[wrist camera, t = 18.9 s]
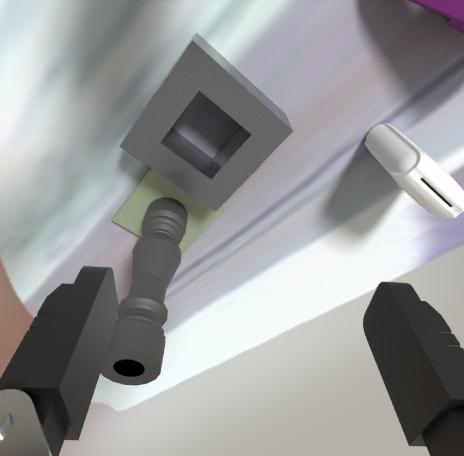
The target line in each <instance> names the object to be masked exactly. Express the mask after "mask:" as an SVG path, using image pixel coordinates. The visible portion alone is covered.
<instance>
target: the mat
mask: <svg viewBox="0 0 464 456" xmlns="http://www.w3.org/2000/svg"><path fill="white" fill-rule="evenodd" d="M163 197H166V198H173V199H175V200H177V201H179V202H181V203H182V204H183V205H184V206H185V208H186V210H187V213H188V220H187V226H186V233H185V235H184V236H183V239H182V241H181V243H180V244H179V247H180V250H181V255H182V254H183V252H184V251H185V250H186V249H187V248H188V247H189V246H190V245H191V244H192V243H193V242H194V241H195V240H196V239H197V238H198V237H199V236H200V235H201V234H202V233H203V232H204V231H205V230H206V229H207V228H208V227H209V226H210V225H211V224H212V223H213V222H214V221H215V220H216V219H217V218H218V217H219V216H220V215H221V214H222V213H223V212H224V209H223V208H221V207H219V209H218V210H217V211H216V212H215V211H214V210H212V209H211V208H209V207H208V206H206V205H205V204H203V203H202V202H201V201H199V200H198V199H196V198H195V197H193V196H192V195H190V194H189V193H187V192H186V191H184V190H183V189H181V188H180V187H179V186H177V185H176V184H174V183H173V182H171V181H170V180H168V179H167V178H165V177H164V176H162V175H161V174H160V173H158V172H157V171H155V170H154V169H152V168H151V169H150V170H149V172H148V173H147V174H146V176H145V177H144V178H143V179H142V181H141V182H140V183H139V185H138V186H137V187H136V189H135V190H134V191H133V192H132V194H131V195H130V196H129V198H128V199H127V200H126V202H125V203H124V204H123V205H122V207H121V208H120V209H119V211H118V212H117V213H116V215H115V216H114V217H113V219H112V221H114V222H115V223H117V224H119V225H120V226H122V227H124V228H126V229H127V230H129V231H131V232H132V233H134V234H136V235H138V236H139V237H141V238H142V237H143V236H142V222H143V219H144V216H145V213H146V210H147V208H148V206H149V204H150V203H151V202H153V201H154V200H155V199H158V198H163Z"/></svg>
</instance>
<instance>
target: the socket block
mask: <svg viewBox="0 0 464 456" xmlns="http://www.w3.org/2000/svg"><path fill="white" fill-rule="evenodd" d="M198 91H200V92H201V93H203V94H204V95H205V96H206V97H207V98H209V99H210V100H211V101H212V102H213V103H215V104H216V105H217V106H218V107H219V108H221V109H222V110H223V111H224V112H225V113H227V114H228V115H229V116H230V117H231V118H232V119H234V120H235V121H236V122H237V123H238V124H240V125H241V127H240V128H239V129H238V130H237V132H236V133H235V134H234V135H233V136H232V137H231V139H230V140H229V141H228V142H227V143H226V144H225V145H224V147H223V148H222V149H221V150H220V151H219V152H218V154H217V155H216V156H215V157H214V158H213V159H212V158H210V157H209V156H208V155H206V154H205V153H204V152H202V151H201V150H200V149H198V148H197V147H196V146H195V145H193V144H192V143H191V142H189V141H188V140H187V139H185V138H184V137H183V136H181V135H180V134H179V133H177V132H176V131H175V130H173V129H172V128H171V127H172V126H173V125H174V123H175V122H176V121H177V119H178V118H179V117H180V115H181V114H182V113H183V111H184V110H185V109H186V107H187V106H188V105H189V103H190V102H191V101H192V99H193V98H194V97H195V95H196V94H197V93H198ZM292 132H293V129H292V127H291V125H290V123H289V121H288V119H287V116H286V114H285V113H284V112H283V111H281V110H280V109H279V108H278V107H277V106H276V105H275V104H274V103H273V102H272V101H271V100H269V99H268V98H267V97H266V96H265V95H264V94H263V93H262V92H261V91H260V90H259V89H257V88H256V87H255V86H254V85H253V84H252V83H251V82H250V81H249V80H248V79H247V78H245V77H244V76H243V75H242V74H241V73H240V72H239V71H238V70H237V69H236V68H235V67H233V66H232V65H231V64H230V63H229V62H228V61H227V60H226V59H225V58H224V57H223V56H221V55H220V54H219V53H218V52H217V51H216V50H215V49H214V48H213V47H212V46H211V45H209V44H208V43H207V42H206V41H205V40H204V39H203V38H202V37H201V36H200V35H199V34H197V33H196V34H195V36H194V37H193V38H192V40H191V41H190V43H189V44H188V46H187V47H186V49H185V50H184V52H183V53H182V55H181V56H180V58H179V59H178V60H177V62H176V63H175V65H174V66H173V68H172V69H171V71H170V72H169V74H168V75H167V77H166V78H165V79H164V81H163V82H162V84H161V85H160V87H159V88H158V90H157V91H156V93H155V94H154V96H153V97H152V99H151V100H150V101H149V103H148V104H147V106H146V107H145V109H144V110H143V112H142V113H141V115H140V116H139V118H138V119H137V120H136V122H135V123H134V125H133V126H132V128H131V129H130V131H129V132H128V134H127V136H126V137H125V139H124V140H123V142H122V143H121V145H120V147H121V148H123V149H124V150H126V151H127V152H129V153H130V154H132V155H133V156H135V157H136V158H138V159H139V160H140V161H142V162H143V163H145V164H146V165H148V166H149V167H151V168H152V169H154V170H155V171H157V172H158V173H160V174H161V175H162V176H164V177H165V178H167V179H168V180H170V181H171V182H173V183H174V184H176V185H177V186H179V187H180V188H181V189H183V190H184V191H186V192H187V193H189V194H190V195H192V196H193V197H195V198H196V199H198V200H199V201H201V202H202V203H203V204H205V205H206V206H208V207H209V208H211V209H212V210H214V211H215V212H216V211H217V210H218V209H219V207H220V206H221V205H222V204H223V203H224V202H225V201H226V200H227V199H228V198H229V197H230V196H231V195H232V194H233V193H234V192H235V191H236V190H237V189H238V188H239V187H240V186H241V185H242V184H243V183H244V182H245V180H246V179H247V178H248V177H249V176H250V175H251V174H252V173H253V172H254V171H255V170H256V169H257V168H258V167H259V166H260V165H261V164H262V163H263V162H264V161H265V160H266V159H267V158H268V157H269V156H270V154H271V153H272V152H273V151H274V150H275V149H276V148H277V147H278V146H279V145H280V144H281V143H282V142H283V141H284V140H285V139H286V138H287V137H288V136H289V135H290V134H291V133H292Z"/></svg>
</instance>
